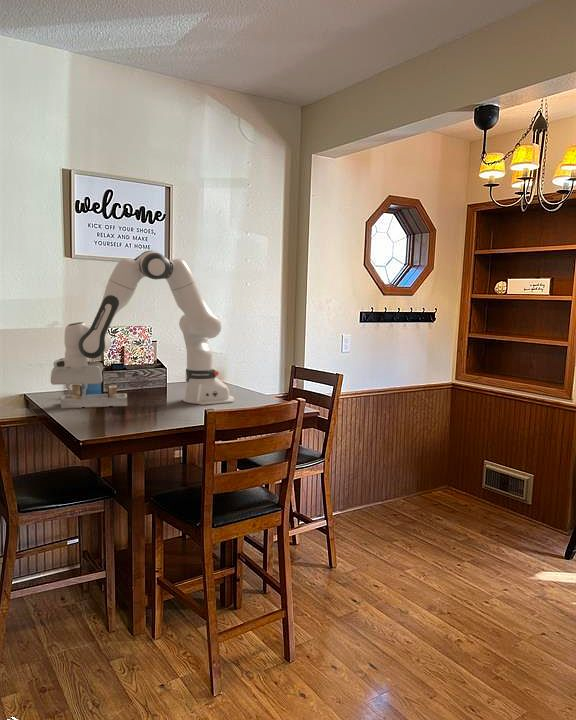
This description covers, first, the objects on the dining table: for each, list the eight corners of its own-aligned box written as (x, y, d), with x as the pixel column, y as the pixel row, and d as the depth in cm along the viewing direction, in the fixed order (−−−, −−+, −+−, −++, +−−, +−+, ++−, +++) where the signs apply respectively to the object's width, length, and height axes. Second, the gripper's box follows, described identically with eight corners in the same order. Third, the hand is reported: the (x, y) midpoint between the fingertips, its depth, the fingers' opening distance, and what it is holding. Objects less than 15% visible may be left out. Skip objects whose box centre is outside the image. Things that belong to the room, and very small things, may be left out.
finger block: (82, 398, 242) (81, 384, 241) (81, 400, 238) (81, 386, 237) (73, 398, 241) (73, 384, 240) (72, 400, 237) (72, 386, 236)
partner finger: (108, 401, 241) (107, 387, 240) (108, 399, 245) (107, 385, 245) (116, 401, 242) (116, 387, 241) (116, 399, 246) (116, 385, 246)
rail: (126, 401, 250) (126, 393, 250) (127, 405, 241) (127, 397, 240) (63, 403, 243) (62, 395, 242) (61, 408, 233) (60, 399, 233)
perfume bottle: (101, 396, 259) (100, 370, 257) (87, 397, 255) (87, 371, 253) (95, 394, 264) (94, 368, 262) (82, 395, 259) (81, 369, 258)
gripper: (103, 360, 243) (103, 392, 245) (51, 360, 237) (52, 393, 239) (102, 362, 237) (103, 395, 239) (49, 363, 231) (50, 396, 233)
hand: (77, 394), depth 239 cm, fingers closed on finger block, 3 cm apart
